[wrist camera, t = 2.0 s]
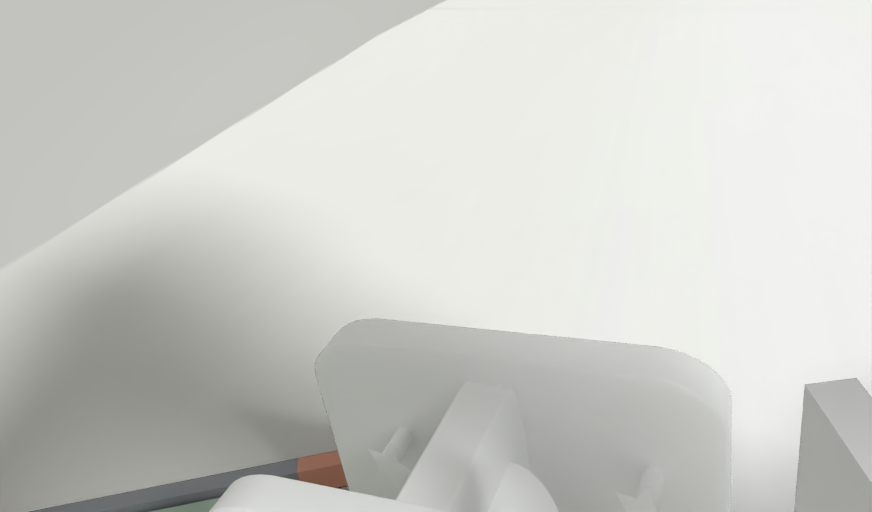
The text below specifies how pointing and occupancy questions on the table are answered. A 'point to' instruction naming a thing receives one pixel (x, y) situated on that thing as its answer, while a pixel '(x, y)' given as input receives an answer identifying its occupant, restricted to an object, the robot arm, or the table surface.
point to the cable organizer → (509, 426)
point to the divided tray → (211, 487)
